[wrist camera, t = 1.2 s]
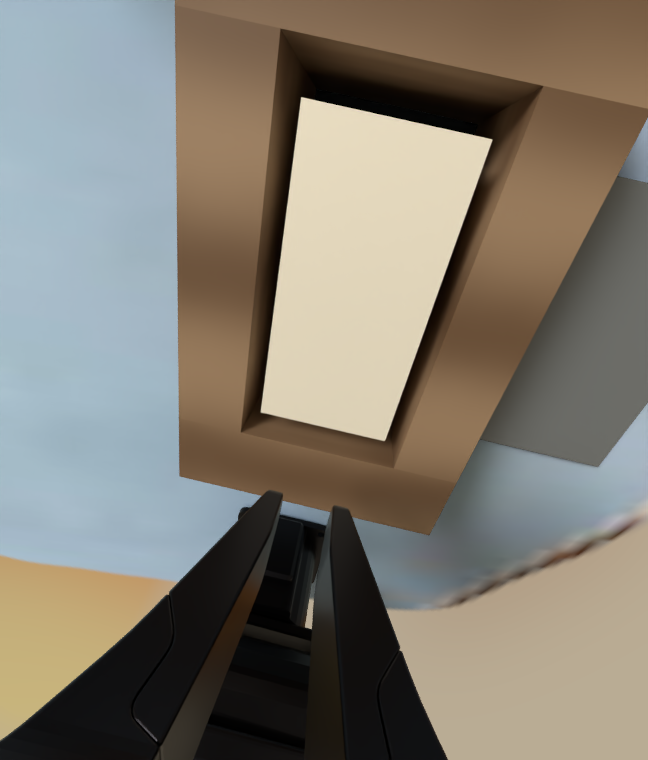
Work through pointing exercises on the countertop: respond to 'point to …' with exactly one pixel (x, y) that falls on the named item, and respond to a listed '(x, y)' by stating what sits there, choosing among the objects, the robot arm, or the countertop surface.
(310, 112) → the cream tile
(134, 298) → the countertop surface
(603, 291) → the slate rubber mat
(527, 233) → the walnut frame
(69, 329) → the countertop surface
